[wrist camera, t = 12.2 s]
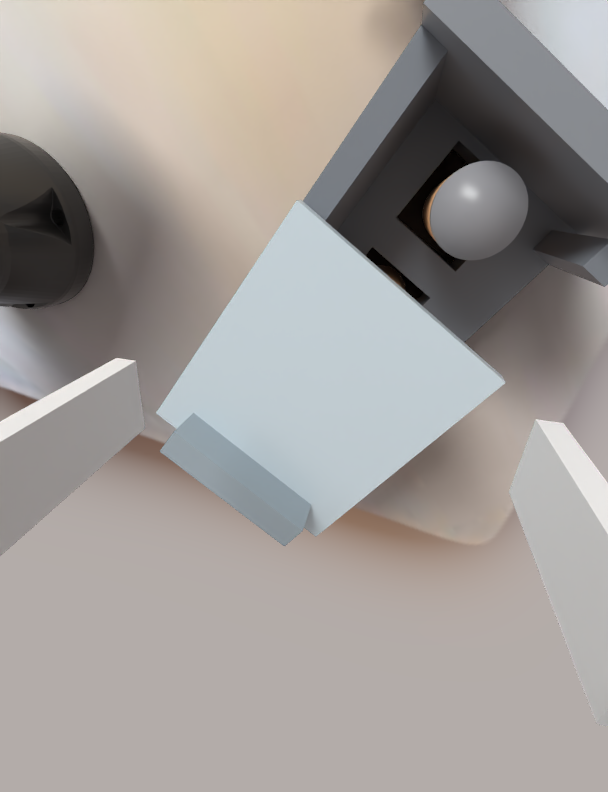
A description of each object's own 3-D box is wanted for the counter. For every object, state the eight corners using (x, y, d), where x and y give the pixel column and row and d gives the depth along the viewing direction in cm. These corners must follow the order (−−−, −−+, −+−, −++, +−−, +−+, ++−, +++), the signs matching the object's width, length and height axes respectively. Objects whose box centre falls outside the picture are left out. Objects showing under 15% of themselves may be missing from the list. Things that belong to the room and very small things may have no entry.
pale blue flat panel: (163, 406, 28) (133, 431, 25) (301, 200, 20) (283, 198, 17) (318, 526, 29) (308, 564, 26) (501, 375, 22) (517, 403, 19)
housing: (280, 284, 35) (209, 328, 23) (431, 74, 27) (454, -45, 14) (398, 384, 37) (394, 479, 24) (577, 214, 28) (717, 220, 16)
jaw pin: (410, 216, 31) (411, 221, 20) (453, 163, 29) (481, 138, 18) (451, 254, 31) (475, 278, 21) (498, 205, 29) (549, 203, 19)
